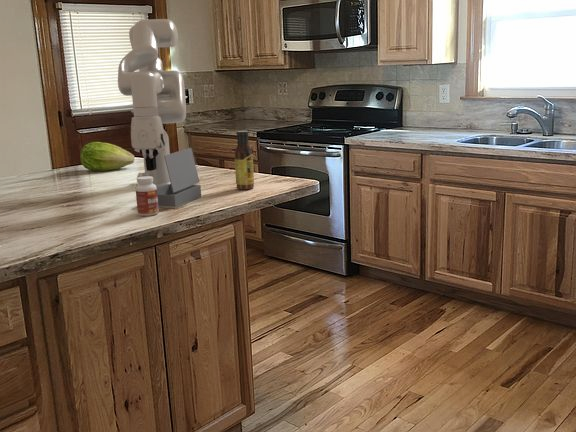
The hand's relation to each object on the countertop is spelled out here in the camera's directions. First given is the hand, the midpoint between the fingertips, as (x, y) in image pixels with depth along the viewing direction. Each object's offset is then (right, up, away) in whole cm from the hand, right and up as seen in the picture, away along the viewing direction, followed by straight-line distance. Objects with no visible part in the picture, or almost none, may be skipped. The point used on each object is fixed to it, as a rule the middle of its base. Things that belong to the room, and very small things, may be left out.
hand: (151, 169), depth 199 cm
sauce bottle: (+29, -5, +15) cm, 33 cm away
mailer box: (+7, -10, 0) cm, 12 cm away
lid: (+11, 0, -4) cm, 11 cm away
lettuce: (-32, +5, +63) cm, 71 cm away
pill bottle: (+2, -14, -15) cm, 21 cm away
